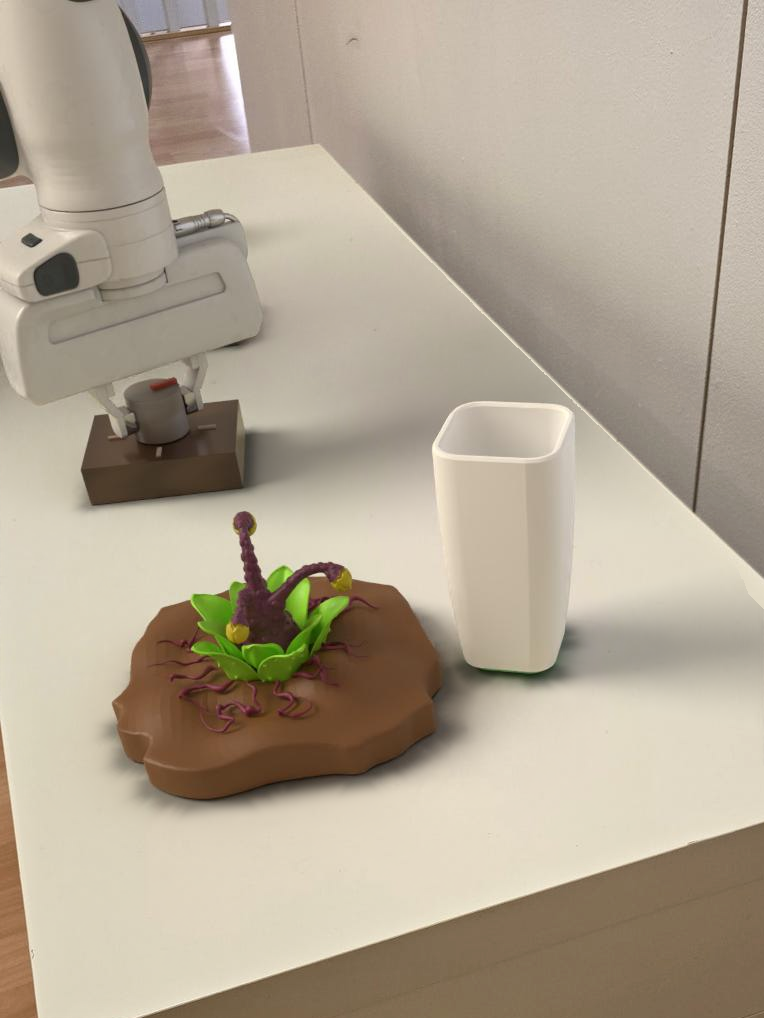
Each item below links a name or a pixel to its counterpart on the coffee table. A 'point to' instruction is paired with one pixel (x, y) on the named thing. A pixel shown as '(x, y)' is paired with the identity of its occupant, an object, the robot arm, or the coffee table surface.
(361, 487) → the coffee table surface
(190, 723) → the plant
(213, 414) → the dial panel
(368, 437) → the coffee table surface
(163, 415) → the dial
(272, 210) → the coffee table surface
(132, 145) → the robot arm
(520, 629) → the cup
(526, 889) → the coffee table surface
